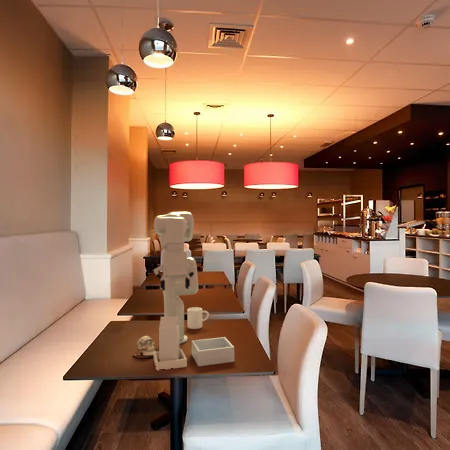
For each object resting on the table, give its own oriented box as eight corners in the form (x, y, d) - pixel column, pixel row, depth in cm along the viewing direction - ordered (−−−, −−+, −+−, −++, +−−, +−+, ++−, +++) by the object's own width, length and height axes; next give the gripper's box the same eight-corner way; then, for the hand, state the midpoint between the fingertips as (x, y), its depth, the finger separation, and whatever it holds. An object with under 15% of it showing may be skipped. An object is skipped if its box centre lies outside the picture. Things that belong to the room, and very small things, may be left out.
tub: (191, 354, 153) (191, 340, 153) (225, 350, 157) (224, 337, 157) (198, 366, 140) (198, 351, 140) (234, 361, 145) (234, 347, 145)
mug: (208, 329, 188) (208, 311, 188) (186, 328, 190) (186, 310, 189) (210, 324, 196) (210, 307, 196) (189, 324, 198) (189, 307, 197)
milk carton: (177, 366, 140) (176, 319, 140) (159, 366, 140) (158, 319, 140) (179, 359, 147) (179, 314, 147) (162, 359, 148) (162, 314, 147)
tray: (153, 359, 148) (153, 352, 148) (181, 355, 151) (181, 348, 151) (156, 370, 136) (156, 362, 136) (186, 366, 140) (186, 359, 140)
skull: (167, 350, 155) (154, 337, 150) (152, 371, 150) (138, 358, 145) (153, 343, 163) (140, 330, 158) (138, 362, 158) (124, 350, 153)
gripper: (154, 248, 137) (154, 292, 138) (197, 247, 143) (197, 289, 143) (152, 247, 145) (153, 288, 145) (193, 246, 150) (194, 286, 150)
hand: (175, 289), depth 144 cm, fingers open, 9 cm apart
